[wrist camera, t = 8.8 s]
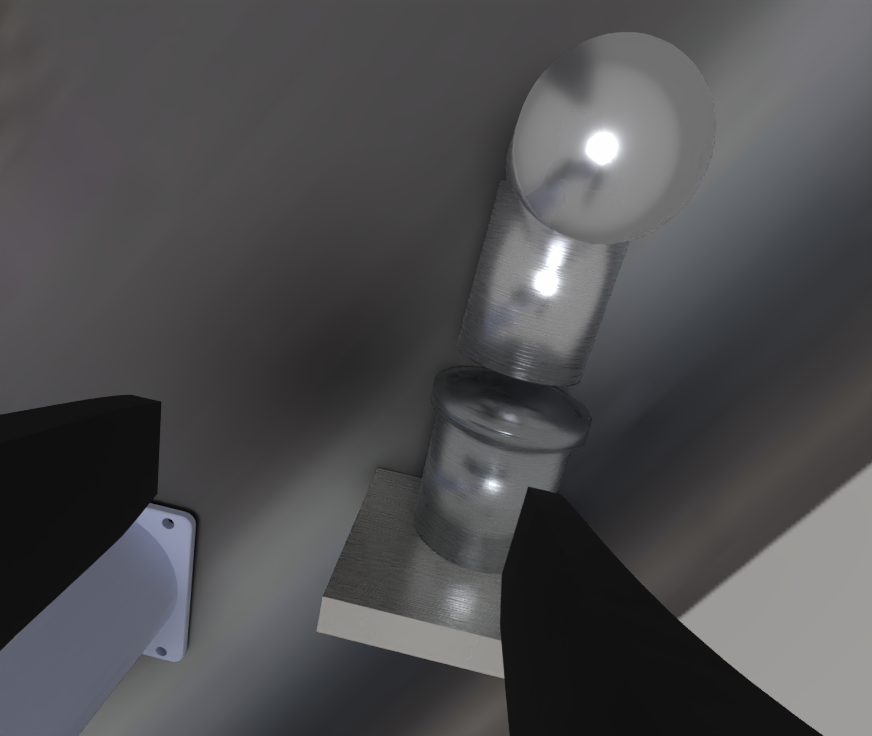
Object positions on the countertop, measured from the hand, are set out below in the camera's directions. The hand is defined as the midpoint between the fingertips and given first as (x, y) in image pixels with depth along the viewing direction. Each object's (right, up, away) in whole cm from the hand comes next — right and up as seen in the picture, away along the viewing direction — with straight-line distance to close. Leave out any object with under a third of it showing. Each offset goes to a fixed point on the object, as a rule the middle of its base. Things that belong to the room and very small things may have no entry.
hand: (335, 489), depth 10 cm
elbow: (+6, +7, +7) cm, 11 cm away
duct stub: (+4, -1, +10) cm, 10 cm away
